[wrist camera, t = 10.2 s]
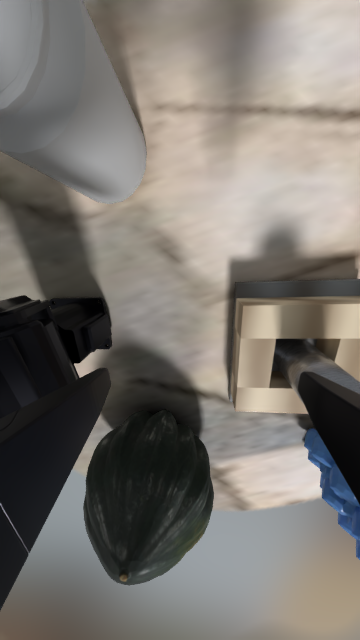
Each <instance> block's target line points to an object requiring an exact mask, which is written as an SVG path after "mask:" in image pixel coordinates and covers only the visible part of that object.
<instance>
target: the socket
mask: <svg viewBox="0 0 360 640" xmlns="http://www.w3.org/2000/svg"><path fill="white" fill-rule="evenodd" d="M276 339H306V340H307V341H308V342H309V343H311V344H312V345H313V346H315V347H316V348H317V349H318V350H320V351H321V352H322V353H323V354H325V355H326V356H327V357H329V358H330V359H331V360H332V361H334V362H335V363H336V364H337V365H339V366H340V367H341V368H342V369H344V370H345V371H346V372H348V373H349V374H350V375H351V376H353V377H354V378H355V379H356V380H358V381H359V382H360V279H334V280H298V281H262V282H235V298H234V315H233V332H232V349H231V366H230V384H229V399H230V402H233V404H234V408H235V411H242V412H270V413H299V414H308V412H307V410H306V408H305V405H304V404H303V402H302V401H301V399H300V398H299V397H298V395H297V394H296V392H295V391H294V390H293V388H292V387H291V385H290V384H289V383H288V381H287V380H286V378H285V377H284V376H283V374H282V373H281V371H280V370H279V368H278V367H277V366H276V364H275V363H274V361H273V357H274V350H275V343H276Z"/></svg>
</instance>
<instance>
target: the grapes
mask: <svg viewBox="0 0 360 640" xmlns="http://www.w3.org/2000/svg"><path fill="white" fill-rule="evenodd" d="M304 446H305V447H306V448H307V449H308V450H309V453H308V459H309V460H310V461H311V462H312V463H313V464H315V465H316V466H317V467H318V468H320V471H321V472H322V473H321V479H320V487H321V488H322V498H323V499H324V500H325V501H326V502H327V503H328V504H329V505H330V506H331V507H333V508H334V509H335V510H336V511H338V524H339V525H340V526H341V527H342V528H343V529H344V530H345V531H347V532H348V533H349V534H350V535H351V536H353V537H354V538H355V539H356V557H358V559H359V560H360V505H359V503H358V501H357V499H356V498H355V496H354V494H353V492H352V491H351V489H350V487H349V486H348V484H347V482H346V480H345V479H344V477H343V475H342V473H341V472H340V470H339V468H338V467H337V465H336V463H335V461H334V460H333V458H332V456H331V454H330V453H329V451H328V449H327V448H326V446H325V444H324V442H323V441H322V439H321V437H320V435H319V434H318V432H317V430H316V429H313V428H312V429H309V430H308V431H307V433H306V435H305V444H304Z"/></svg>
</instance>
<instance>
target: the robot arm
mask: <svg viewBox="0 0 360 640" xmlns="http://www.w3.org/2000/svg"><path fill="white" fill-rule="evenodd" d="M98 300H99V301H100V302H101V304H100V303H99V302H98ZM54 302H55V303H56V304H55V303H54ZM49 306H50V307H51V309H50V307H49ZM106 344H108V345H109V346H107V345H106ZM111 346H112V341H111V328H110V323H109V317H108V315H107V313H106V308H105V302H104V299H103V298H101V297H87V298H54V299H51V300H50V301H48V300H44V301H40V300H32V299H30V298H28V297H27V296H25V295H23V296H18V297H14V298H10V299H5V300H1V301H0V610H1V608H2V606H3V604H4V602H5V600H6V598H7V596H8V594H9V592H10V590H11V589H12V587H13V585H14V583H15V581H16V579H17V577H18V575H19V573H20V571H21V569H22V567H23V565H24V563H25V561H26V559H27V557H28V553H30V551H31V548H32V547H33V545H34V543H35V541H36V539H37V537H38V535H39V533H40V531H41V529H42V527H43V525H44V523H45V521H46V519H47V517H48V515H49V513H50V511H51V510H52V508H53V506H54V504H55V502H56V500H57V498H58V496H59V494H60V492H61V490H62V488H63V486H64V484H65V482H66V480H67V478H68V476H69V474H70V472H71V470H72V468H73V466H74V464H75V462H76V461H77V459H78V457H79V455H80V453H81V451H82V449H83V447H84V445H85V443H86V441H87V439H88V437H89V435H90V433H91V431H92V429H93V427H94V425H95V423H96V421H97V419H98V417H99V415H100V412H101V410H102V407H103V405H104V402H105V400H106V397H107V394H108V392H109V389H110V386H111V381H110V376H109V371H108V369H106V368H99V369H97V370H95V371H93V372H91V373H89V374H87V375H85V376H83V377H81V378H79V376H78V373H77V371H76V368H75V366H74V363H80V362H81V361H82V360H84V359H85V358H86V357H87V356H88V355H89V354H90V353H91V352H94V351H95V350H96V349H110V348H111ZM298 392H299V394H300V397H301V399H302V401H303V403H304V405H305V408H306V410H307V412H308V414H309V416H310V419H311V421H312V423H313V425H314V427H315V428H316V430H317V432H318V434H319V435H320V437H321V439H322V441H323V442H324V444H325V446H326V448H327V449H328V451H329V453H330V454H331V456H332V458H333V460H334V461H335V463H336V465H337V467H338V468H339V470H340V472H341V473H342V475H343V477H344V479H345V480H346V482H347V484H348V486H349V487H350V489H351V491H352V492H353V494H354V496H355V498H356V499H357V501H358V503H359V505H360V394H358V393H356V392H354V391H352V390H350V389H348V388H346V387H344V386H341V385H339V384H337V383H335V382H333V381H331V380H329V379H327V378H325V377H322V376H320V375H318V374H316V373H314V372H306V371H303V372H301V374H300V378H299V383H298Z"/></svg>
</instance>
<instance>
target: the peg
mask: <svg viewBox="0 0 360 640" xmlns="http://www.w3.org/2000/svg"><path fill="white" fill-rule="evenodd" d="M273 361H274V363H275V364H276V366H277V367H278V368H279V370H280V371H281V373H282V374H283V376H284V377H285V378H286V380H287V381H288V383H289V384H290V385H291V387H292V388H293V390H294V391H295V392H296V394H297V395H298V397H299V398H300V399H301V397H300V394H299V392H298V383H299V378H300V374H301V372H303V371H306V372H314V373H316V374H318V375H320V376H322V377H325V378H327V379H329V380H331V381H333V382H335V383H337V384H339V385H341V386H344V387H346V388H348V389H350V390H352V391H354V392H356V393H358V394H360V382H359V381H358V380H356V379H355V378H354V377H353V376H351V375H350V374H349V373H348V372H346V371H345V370H344V369H342V368H341V367H340V366H339V365H337V364H336V363H335V362H334V361H332V360H331V359H330V358H329V357H327V356H326V355H325V354H323V353H322V352H321V351H320V350H318V349H317V348H316V347H315V346H313V345H312V344H311V343H309V342H308V341H307V340H306V339H276V343H275V350H274V357H273ZM301 401H302V399H301ZM302 402H303V401H302ZM303 404H304V403H303Z"/></svg>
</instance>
